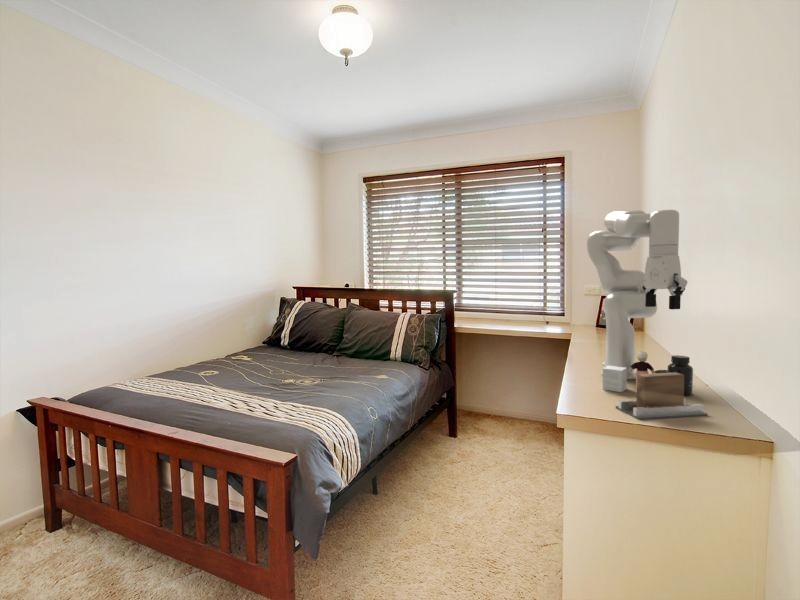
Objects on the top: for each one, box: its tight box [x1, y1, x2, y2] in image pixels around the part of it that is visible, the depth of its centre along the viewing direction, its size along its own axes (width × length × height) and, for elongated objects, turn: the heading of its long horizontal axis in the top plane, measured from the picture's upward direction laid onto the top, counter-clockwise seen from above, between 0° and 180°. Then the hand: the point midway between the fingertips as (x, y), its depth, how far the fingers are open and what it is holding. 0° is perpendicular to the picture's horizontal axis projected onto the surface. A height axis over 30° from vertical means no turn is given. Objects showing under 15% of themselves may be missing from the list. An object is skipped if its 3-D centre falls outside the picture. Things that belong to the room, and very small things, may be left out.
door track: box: [615, 397, 708, 421], centre depth 115 cm, size 10×20×2 cm, turn 97°
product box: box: [602, 365, 628, 393], centre depth 138 cm, size 6×6×7 cm
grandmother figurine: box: [629, 351, 656, 390], centre depth 138 cm, size 8×4×13 cm, turn 72°
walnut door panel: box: [636, 372, 685, 407], centre depth 115 cm, size 3×12×10 cm, turn 97°
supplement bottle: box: [666, 354, 694, 397], centre depth 132 cm, size 7×7×12 cm
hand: (662, 307), depth 125 cm, fingers open, 9 cm apart
